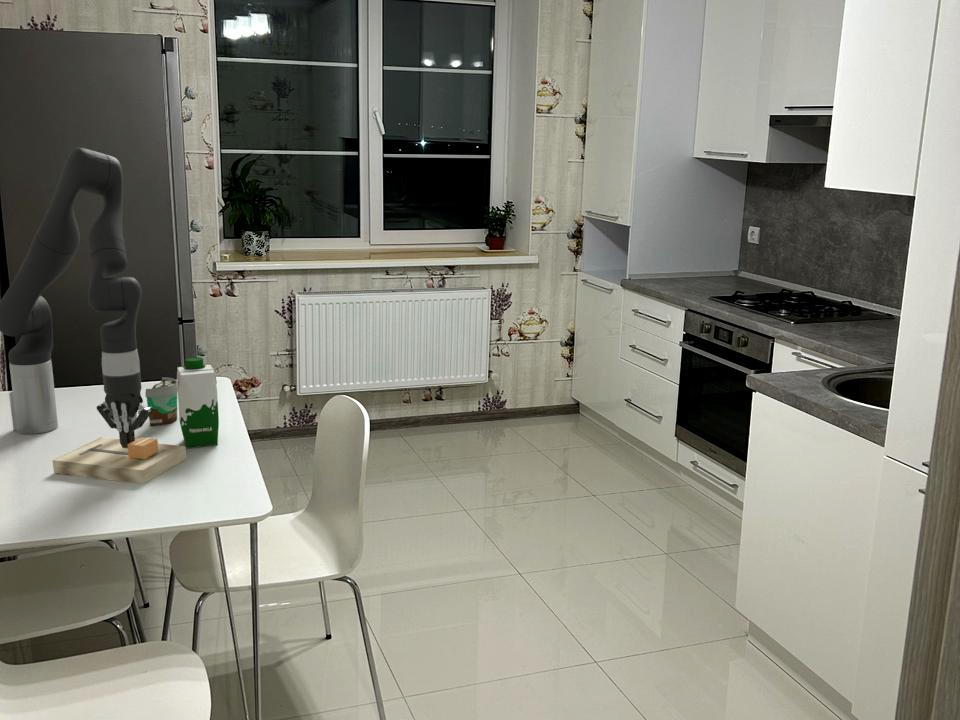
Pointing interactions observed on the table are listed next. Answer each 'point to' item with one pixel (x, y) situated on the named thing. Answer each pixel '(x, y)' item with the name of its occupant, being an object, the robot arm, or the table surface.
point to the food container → (163, 402)
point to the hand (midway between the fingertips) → (127, 447)
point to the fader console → (117, 461)
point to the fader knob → (142, 448)
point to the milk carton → (198, 403)
